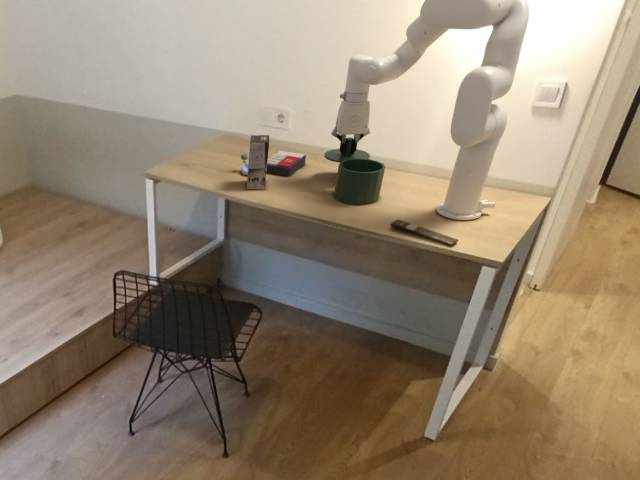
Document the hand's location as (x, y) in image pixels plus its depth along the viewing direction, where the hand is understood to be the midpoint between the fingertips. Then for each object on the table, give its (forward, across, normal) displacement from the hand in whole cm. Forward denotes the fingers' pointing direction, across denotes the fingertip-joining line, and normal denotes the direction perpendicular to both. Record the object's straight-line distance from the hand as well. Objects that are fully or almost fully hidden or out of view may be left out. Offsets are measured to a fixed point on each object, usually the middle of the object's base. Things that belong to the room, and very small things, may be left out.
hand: (347, 153), depth 215 cm
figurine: (+9, -32, +8) cm, 35 cm away
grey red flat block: (+9, -20, +13) cm, 25 cm away
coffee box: (+9, -31, -4) cm, 33 cm away
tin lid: (+1, 0, 0) cm, 1 cm away
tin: (+9, +1, -18) cm, 20 cm away
